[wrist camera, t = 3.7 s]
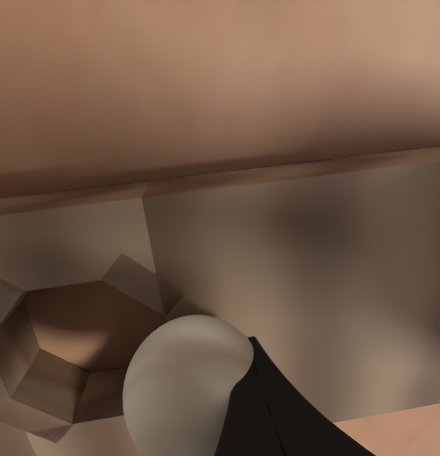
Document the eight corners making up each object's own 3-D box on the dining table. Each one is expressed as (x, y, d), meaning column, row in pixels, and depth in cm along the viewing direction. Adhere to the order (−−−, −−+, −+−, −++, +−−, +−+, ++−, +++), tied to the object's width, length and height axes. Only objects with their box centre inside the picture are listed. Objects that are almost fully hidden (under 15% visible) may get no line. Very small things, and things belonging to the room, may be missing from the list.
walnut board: (445, 145, 15) (507, 152, 12) (412, 359, 19) (451, 400, 17) (-66, 206, 13) (-134, 231, 10) (30, 425, 18) (2, 483, 15)
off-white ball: (298, 330, 12) (287, 466, 8) (242, 402, 14) (209, 539, 10) (185, 267, 12) (111, 362, 8) (149, 346, 15) (75, 454, 10)
